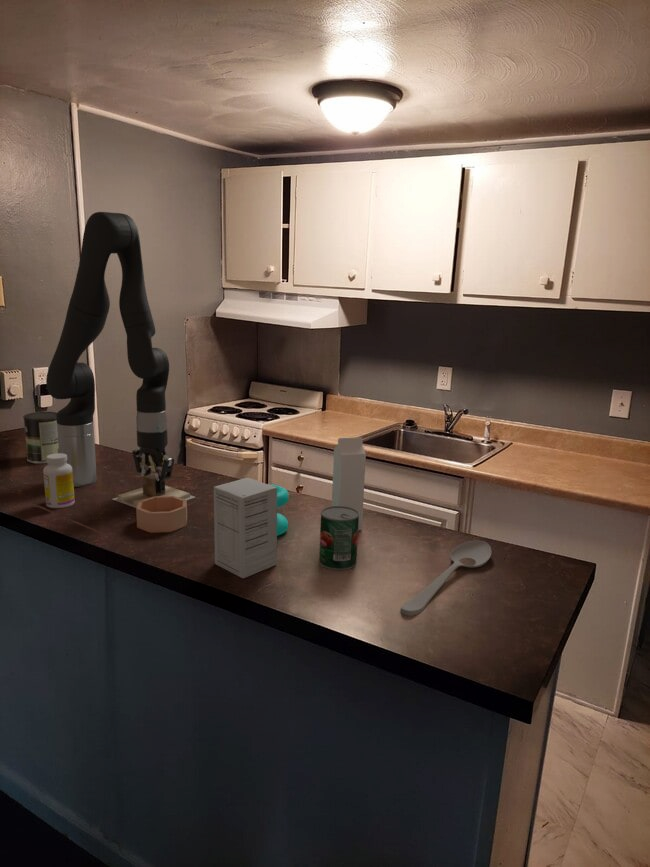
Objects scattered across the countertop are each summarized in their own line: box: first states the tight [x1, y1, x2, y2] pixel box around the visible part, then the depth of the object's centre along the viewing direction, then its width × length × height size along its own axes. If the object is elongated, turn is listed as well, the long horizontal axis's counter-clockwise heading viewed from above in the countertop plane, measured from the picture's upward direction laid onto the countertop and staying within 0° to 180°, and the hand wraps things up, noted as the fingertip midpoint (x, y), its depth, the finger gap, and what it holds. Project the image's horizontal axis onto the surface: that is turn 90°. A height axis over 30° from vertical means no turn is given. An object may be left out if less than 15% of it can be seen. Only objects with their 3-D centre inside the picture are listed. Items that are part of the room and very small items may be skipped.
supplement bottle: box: [42, 453, 76, 509], centre depth 149 cm, size 7×7×13 cm
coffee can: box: [22, 411, 59, 465], centre depth 185 cm, size 10×10×14 cm
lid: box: [117, 472, 191, 506], centre depth 156 cm, size 13×13×6 cm
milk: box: [331, 436, 367, 531], centre depth 141 cm, size 6×6×22 cm
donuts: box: [270, 484, 290, 537], centre depth 138 cm, size 10×10×10 cm
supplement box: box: [213, 477, 278, 579], centre depth 120 cm, size 10×9×17 cm
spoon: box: [400, 539, 492, 617], centre depth 119 cm, size 35×8×3 cm, turn 143°
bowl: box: [135, 496, 188, 534], centre depth 140 cm, size 11×11×5 cm
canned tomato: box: [318, 505, 359, 571], centre depth 124 cm, size 8×8×11 cm
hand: (154, 491), depth 156 cm, fingers open, 4 cm apart
